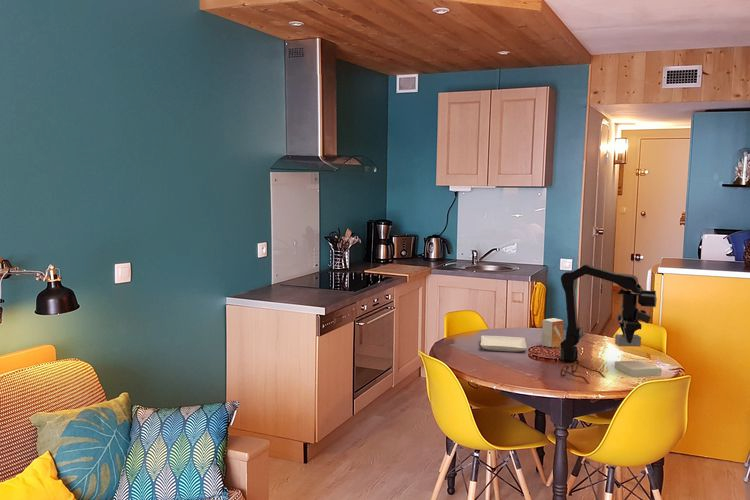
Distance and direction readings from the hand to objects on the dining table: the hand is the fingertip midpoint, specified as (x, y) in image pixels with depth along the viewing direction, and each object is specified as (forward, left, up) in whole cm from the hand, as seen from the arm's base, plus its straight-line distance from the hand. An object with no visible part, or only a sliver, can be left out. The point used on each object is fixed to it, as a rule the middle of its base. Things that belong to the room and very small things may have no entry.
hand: (627, 341), depth 275 cm
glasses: (-25, -7, -12) cm, 29 cm away
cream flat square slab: (-37, +44, -12) cm, 59 cm away
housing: (0, 0, -2) cm, 2 cm away
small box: (-13, +41, -12) cm, 45 cm away
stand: (+2, -5, -12) cm, 13 cm away
